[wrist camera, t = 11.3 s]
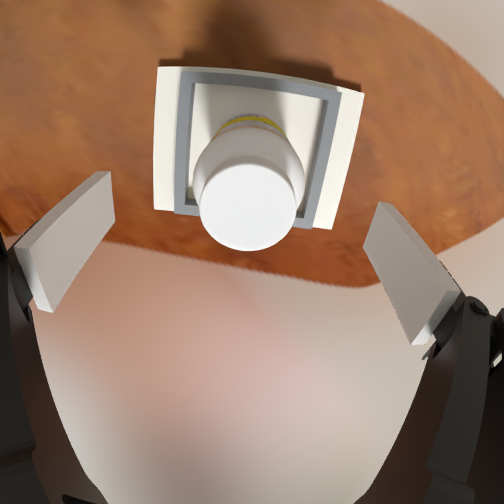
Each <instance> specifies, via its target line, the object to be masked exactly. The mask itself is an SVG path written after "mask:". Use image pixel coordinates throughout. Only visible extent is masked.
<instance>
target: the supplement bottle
mask: <svg viewBox="0 0 504 504" xmlns="http://www.w3.org/2000/svg"><path fill="white" fill-rule="evenodd" d="M192 184H193V192H194V196H195V199H196V202H197V204H198V206H199V211H200V217H201V220H202V223H203V225H204V227H205V228H206V230H207V231H208V233H209V234H210V235H211V236H212V237H213V238H214V239H215V240H217V241H218V242H219V243H221V244H223V245H225V246H227V247H230V248H233V249H237V250H243V251H254V250H260V249H264V248H267V247H269V246H271V245H273V244H275V243H277V242H278V241H280V240H281V239H282V238H283V237H284V236H285V235H286V234H287V233H288V231H289V230H290V228H291V227H292V225H293V223H294V220H295V217H296V211H297V208H298V207H299V205H300V203H301V201H302V198H303V195H304V189H305V174H304V169H303V166H302V163H301V161H300V158H299V157H298V155H297V153H296V151H295V150H294V148H293V147H292V145H291V143H290V142H289V140H288V138H287V137H286V135H285V133H284V132H283V130H282V129H281V128H280V127H279V126H278V125H277V124H276V123H275V122H274V121H272V120H271V119H269V118H267V117H265V116H262V115H258V114H243V115H238V116H236V117H233V118H231V119H230V120H228V121H226V122H225V123H224V124H223V125H222V126H221V127H220V128H219V129H218V131H217V132H216V133H215V135H214V136H213V138H212V139H211V140H210V142H209V143H208V145H207V146H206V147H205V149H204V150H203V151H202V153H201V154H200V156H199V158H198V160H197V162H196V165H195V168H194V172H193V182H192Z"/></svg>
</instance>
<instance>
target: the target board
mask: <svg viewBox="0 0 504 504" xmlns="http://www.w3.org/2000/svg"><path fill="white" fill-rule="evenodd" d="M363 99H364V93H361V92H357V91H354V90H350V89H347V88H343V87H339V86H335V85H331V84H326V83H322V82H317V81H313V80H308V79H303V78H297V77H292V76H286V75H280V74H273V73H266V72H258V71H250V70H240V69H229V68H213V67H158V74H157V86H156V100H155V118H154V151H153V186H154V209H158V210H169V211H174V214H185V215H195V216H200V211H199V206H198V204H197V202H196V199H195V196H194V192H193V184H192V182H193V172H194V168H195V165H196V162H197V160H198V158H199V156H200V154H201V153H202V151H203V150H204V149H205V147H206V146H207V145H208V143H209V142H210V140H211V139H212V138H213V136H214V135H215V133H216V132H217V131H218V129H219V128H220V127H221V126H222V125H223V124H224V123H225V122H226V121H228V120H230V119H231V118H233V117H236V116H238V115H243V114H258V115H262V116H265V117H267V118H269V119H271V120H272V121H274V122H275V123H276V124H277V125H278V126H279V127H280V128H281V129H282V130H283V132H284V133H285V135H286V137H287V138H288V140H289V142H290V143H291V145H292V147H293V148H294V150H295V151H296V153H297V155H298V157H299V158H300V161H301V163H302V166H303V169H304V174H305V189H304V195H303V198H302V201H301V203H300V205H299V207H298V208H297V211H296V217H295V220H294V223H293V225H292V227H299V228H306V229H312V227H318V228H325V229H332V226H333V222H334V219H335V215H336V212H337V208H338V205H339V201H340V197H341V194H342V190H343V186H344V182H345V178H346V174H347V170H348V166H349V162H350V158H351V154H352V150H353V146H354V141H355V137H356V132H357V128H358V123H359V119H360V114H361V109H362V104H363Z"/></svg>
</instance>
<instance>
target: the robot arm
mask: <svg viewBox="0 0 504 504" xmlns="http://www.w3.org/2000/svg"><path fill="white" fill-rule="evenodd" d="M114 222H115V216H114V206H113V196H112V185H111V171H97V172H96V173H94V174H93V175H92V176H90V177H89V178H88V179H87V180H85V181H84V182H83V183H82V184H80V185H79V186H78V187H77V188H76V189H74V190H73V191H72V192H71V193H70V194H68V195H67V196H66V197H65V198H64V199H63V200H61V201H60V202H59V203H58V204H57V205H56V206H55V207H53V208H52V209H51V210H50V211H49V212H48V213H47V214H46V215H45V216H44V217H43V218H41V219H39V220H38V221H36V222H35V223H34V224H33V225H32V226H31V227H30V228H29V230H27V231H26V232H25V233H24V235H22V236H21V237H20V238H19V239H18V240H17V241H16V242H15V243H14V244H13V245H12V246H11V248H10V249H9V250H8V251H7V250H6V247H5V244H4V241H3V238H2V235H1V232H0V504H108V503H107V501H106V500H105V498H104V497H103V495H102V494H101V492H100V491H99V490H98V488H97V487H96V486H95V485H94V484H93V483H92V482H91V481H90V479H89V478H88V477H87V475H86V474H85V472H84V470H83V468H82V466H81V464H80V462H79V460H78V458H77V456H76V454H75V452H74V450H73V448H72V446H71V443H70V441H69V439H68V436H67V434H66V432H65V429H64V427H63V424H62V422H61V419H60V417H59V414H58V411H57V408H56V406H55V403H54V400H53V397H52V394H51V391H50V388H49V384H48V382H47V378H46V374H45V371H44V367H43V363H42V359H41V355H40V351H39V347H38V343H37V338H36V333H35V328H34V322H33V317H32V311H31V309H30V307H29V302H30V301H31V299H32V298H34V301H35V302H36V305H37V307H38V309H40V310H44V311H48V312H51V313H53V312H54V311H55V309H56V307H57V306H58V304H59V302H60V301H61V299H62V297H63V296H64V294H65V293H66V291H67V289H68V288H69V286H70V285H71V283H72V282H73V280H74V278H75V277H76V275H77V274H78V272H79V271H80V269H81V268H82V266H83V265H84V264H85V262H86V261H87V259H88V258H89V256H90V255H91V253H92V252H93V251H94V249H95V248H96V246H97V245H98V244H99V242H100V241H101V240H102V238H103V237H104V236H105V234H106V233H107V232H108V230H109V229H110V228H111V226H112V225H113V224H114ZM363 249H364V250H365V252H366V254H367V256H368V258H369V260H370V262H371V263H372V265H373V267H374V269H375V271H376V273H377V275H378V277H379V279H380V281H381V283H382V285H383V287H384V289H385V291H386V293H387V295H388V297H389V299H390V301H391V303H392V305H393V307H394V309H395V311H396V313H397V315H398V318H399V320H400V322H401V325H402V327H403V329H404V331H405V334H406V336H407V338H408V340H409V343H410V345H419V344H425V343H426V342H427V341H428V339H429V338H430V337H431V335H432V334H434V336H435V338H436V341H435V342H434V344H433V345H432V346H431V347H430V349H429V350H428V351H427V352H426V354H425V355H424V356H423V358H422V359H423V360H424V359H425V358H426V357H428V360H427V363H426V366H425V369H424V372H423V375H422V378H421V381H420V384H419V386H418V389H417V392H416V395H415V397H414V400H413V402H412V405H411V407H410V409H409V412H408V414H407V416H406V419H405V421H404V424H403V426H402V428H401V430H400V432H399V434H398V436H397V439H396V441H395V443H394V445H393V447H392V449H391V451H390V452H389V455H388V456H387V458H386V460H385V462H384V464H383V466H382V467H381V469H380V471H379V473H378V474H377V476H376V478H375V480H374V481H373V483H372V485H371V486H370V488H369V489H368V490H367V492H366V493H365V494H364V495H363V496H362V497H360V498H359V499H358V500H357V501H356V502H355V503H354V504H504V308H502V309H501V310H500V312H499V314H498V315H497V316H496V317H495V316H492V315H490V314H489V311H488V309H487V307H486V306H485V305H484V304H483V303H482V302H481V301H480V300H478V299H477V298H474V297H472V296H468V297H466V296H465V294H464V293H463V291H462V290H461V288H460V287H459V286H458V284H457V283H456V281H455V280H454V279H453V278H452V276H451V274H450V273H449V272H447V269H446V268H445V266H444V265H443V264H442V263H441V262H440V261H439V260H438V259H437V257H436V256H435V255H434V253H433V252H432V251H431V250H430V248H429V247H428V246H427V245H426V243H425V242H424V241H423V240H422V238H421V237H420V236H419V235H418V234H417V232H416V231H415V230H414V229H413V228H412V226H411V225H410V224H409V223H408V222H407V221H406V219H405V218H404V217H403V216H402V215H401V214H400V213H399V212H398V210H397V209H396V208H395V207H394V206H393V205H392V204H390V203H385V202H380V201H379V203H378V206H377V209H376V212H375V215H374V218H373V220H372V223H371V226H370V229H369V232H368V235H367V237H366V240H365V243H364V245H363ZM501 353H502V360H501V361H500V362H499V363H498V364H497V365H496V366H495V367H494V364H493V362H494V361H495V359H496V358H497V357H498V356H499V355H500V354H501Z"/></svg>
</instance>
